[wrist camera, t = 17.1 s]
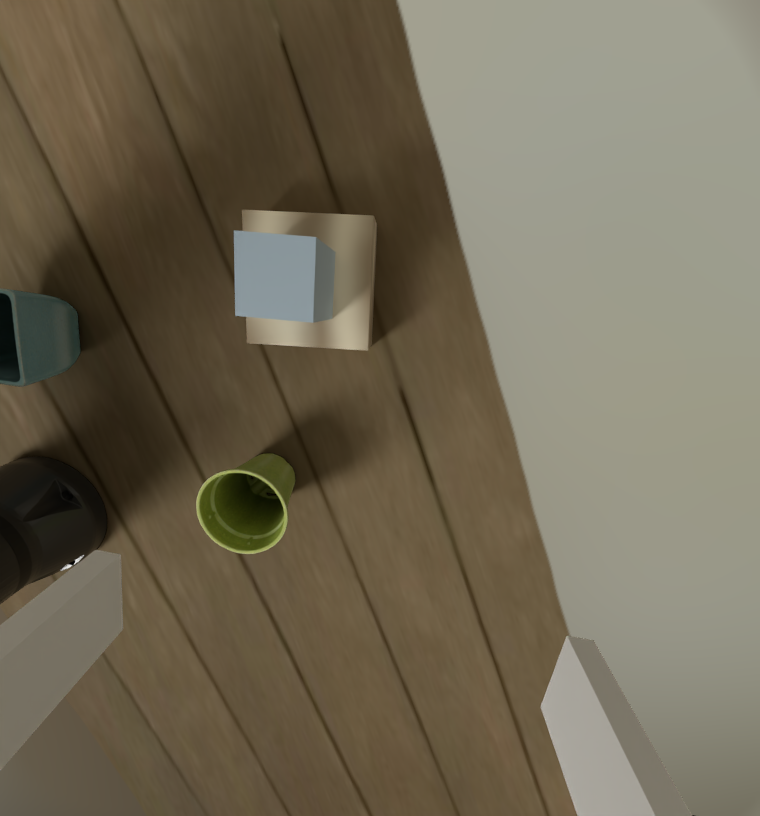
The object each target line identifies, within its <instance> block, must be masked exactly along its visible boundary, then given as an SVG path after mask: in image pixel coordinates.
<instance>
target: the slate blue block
mask: <svg viewBox="0 0 760 816" xmlns="http://www.w3.org/2000/svg"><path fill="white" fill-rule="evenodd" d="M335 253H336V252H335V251H334V250H332V249H331V248H330V247H328V246H327V245H326V244H324V243H323V242H322V241H321V240H319V239H318V238H317V237H310V236H297V235H285V234H272V233H260V232H247V231H235V230H234V270H235V316H243V317H255V318H266V319H277V320H289V321H300V322H311V323H314V322H319V321H324V320H329V319H332V315H333V294H334V274H335Z"/></svg>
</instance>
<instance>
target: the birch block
mask: <svg viewBox="0 0 760 816" xmlns="http://www.w3.org/2000/svg"><path fill="white" fill-rule="evenodd" d="M242 226H243V231H247V232H260V233H272V234H285V235H297V236H310V237H317V238H318V239H319V240H321V241H322V242H323V243H324V244H326V245H327V246H328V247H330V248H331V249H332V250H334V251H335V252H336V253H335V274H334V294H333V315H332V319H329V320H324V321H319V322H314V323H311V322H300V321H289V320H277V319H266V318H255V317H246V328H247V343H252V344H268V345H285V346H301V347H318V348H334V349H351V350H367V351H368V350H369V348H370V347H371V346H372V328H373V307H374V285H375V264H376V243H377V224H376V221H375V218H374V216H372V215H350V214H328V213H306V212H283V211H261V210H242Z"/></svg>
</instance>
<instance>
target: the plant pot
mask: <svg viewBox="0 0 760 816" xmlns="http://www.w3.org/2000/svg"><path fill="white" fill-rule="evenodd" d="M250 475H252V476H253V477H254V480H252V479H251V477H250ZM294 485H295V473H294V470H293V468H292V466H290V465H289V464H288V463H287V462H286V461H285V459H284V458H282V457H281V456H279V455H276V454H271V453H266V454H261V455H258V456H256V457H254V458H253V459H251V460H249V461H248V462H246V463H244V464H243V465H241V466H239V467H237V468H236V469H229V470H224V471H221V472H219V473H217V474H215V475H213V476H212V477H210V478H209V479H208V480H207V481H206V482H205V483H204V484H203V485H202V487H201V488H200V491H199V493H198V496H197V502H196V508H197V515H198V519H199V521H200V524H201V525H202V527H203V529H204V530H205V532H206V533H207V534H208V536H209V537H210V538H211V539H212V540H213V541H214V542H216V543H217V544H218V545H220V546H222V547H224V548H226V549H228V550H230V551H233V552H236V553H242V554H254V553H259V552H263V551H265V550H268V549H269V548H271V547H272V546H274V545H275V544H276V543H277V542H278V541H279V540H280V539H281V538H282V536H283V535H284V533H285V530H286V528H287V524H288V509H287V506H288V503H289V500H290V497H291V494H292V491H293V488H294ZM266 493H273V494H274V493H276V494H277V495H276V496H270V495H267V494H266Z"/></svg>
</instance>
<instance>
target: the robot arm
mask: <svg viewBox="0 0 760 816" xmlns="http://www.w3.org/2000/svg"><path fill="white" fill-rule="evenodd" d="M106 528H107V517H106V511H105V508H104V505H103V502H102V500H101V498H100V496H99V494H98V493H97V491H96V490H95V488H94V487H93V486H92V484H91V483H90V482H89V481H88V480H87V479H86V478H85V477H84V476H83V475H81V474H80V473H79V472H78V471H76V470H75V469H73V468H72V467H70V466H68V465H66V464H64V463H62V462H60V461H57V460H54V459H50V458H46V457H25V458H21V459H18V460H15V461H13V462H10V463H8V464H5V465H3V466H0V604H1V603H3V602H4V601H5V600H7V599H8V598H9V597H10V596H12V595H13V594H14V593H16V592H17V591H19V590H20V589H21V588H23V587H24V586H26V585H28V584H30V583H33V582H35V581H38V580H40V579H43V578H45V577H48V576H50V575H53V574H55V573H57V572H59V571H62V570H65V569H68V568H70V567H72V566H74V565H76V564H77V565H76V566H74V567H73V568H72V569H70V570H69V571H68V572H67V573H65V574H64V575H63V576H62V577H60V578H59V579H58V580H57V581H55V582H54V583H53V584H52V585H50V586H49V587H48V588H47V589H45V590H44V591H43V592H41V593H40V594H39V595H38V596H36V597H35V598H34V599H33V600H31V601H30V602H29V603H28V604H26V605H25V606H24V607H23V608H21V609H20V610H19V611H18V612H16V613H15V614H14V615H12V616H11V617H10V618H9V619H7V620H6V621H5V622H4V623H2V624H1V625H0V770H1V769H2V768H3V767H4V766H5V765H6V763H7V762H8V761H9V760H10V759H11V758H12V757H13V755H14V754H15V753H16V752H17V751H18V750H19V748H20V747H21V746H22V745H23V744H24V742H26V740H27V739H28V738H29V737H30V736H31V735H32V733H33V732H34V731H35V730H36V729H37V728H38V726H39V725H40V724H41V723H42V722H43V720H44V719H45V718H46V717H47V716H48V715H49V714H50V713H51V712H52V710H53V709H54V708H55V707H56V706H57V705H58V703H59V702H60V701H61V700H62V699H63V698H64V697H65V695H66V694H67V693H68V692H69V691H70V690H71V689H72V687H73V686H74V685H75V684H76V683H77V682H78V680H79V679H80V678H81V677H82V676H83V675H84V674H85V672H86V671H87V670H88V669H89V668H90V667H91V665H92V664H93V663H94V662H95V661H96V660H97V659H98V657H99V656H100V655H101V654H102V653H103V652H104V650H105V649H106V648H107V647H108V646H109V645H110V644H111V642H112V641H113V640H114V639H115V638H116V637H117V635H118V634H119V633H120V632H121V631H122V630H123V613H122V579H121V554H116V553H110V552H105V551H99V550H96V549H97V548H98V547H99V545H100V544H101V542H102V541H103V539H104V536H105V533H106ZM541 709H542V712H543V715H544V718H545V721H546V724H547V727H548V730H549V733H550V736H551V739H552V742H553V745H554V748H555V751H556V754H557V757H558V759H559V762H560V765H561V768H562V771H563V774H564V777H565V780H566V783H567V786H568V789H569V792H570V795H571V798H572V801H573V804H574V807H575V810H576V813H577V816H694V815H691V813H690V811H689V809H688V807H687V806H686V804H685V802H684V800H683V799H682V797H681V795H680V793H679V792H678V790H677V788H676V786H675V784H674V783H673V781H672V779H671V777H670V775H669V774H668V772H667V770H666V768H665V767H664V765H663V763H662V761H661V759H660V758H659V756H658V754H657V752H656V751H655V749H654V747H653V745H652V743H651V742H650V740H649V738H648V736H647V735H646V733H645V731H644V729H643V728H642V726H641V724H640V722H639V720H638V719H637V717H636V715H635V713H634V711H633V710H632V708H631V706H630V704H629V703H628V701H627V699H626V697H625V695H624V694H623V692H622V690H621V688H620V687H619V685H618V683H617V681H616V679H615V678H614V676H613V674H612V672H611V671H610V669H609V667H608V665H607V664H606V662H605V660H604V658H603V656H602V655H601V653H600V651H599V649H598V647H597V646H596V644H595V642H594V640H588V639H583V638H577V637H572V636H567V637H566V640H565V642H564V645H563V648H562V650H561V653H560V656H559V658H558V661H557V664H556V667H555V669H554V672H553V675H552V677H551V680H550V683H549V685H548V688H547V691H546V693H545V696H544V699H543V702H542V704H541Z"/></svg>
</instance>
